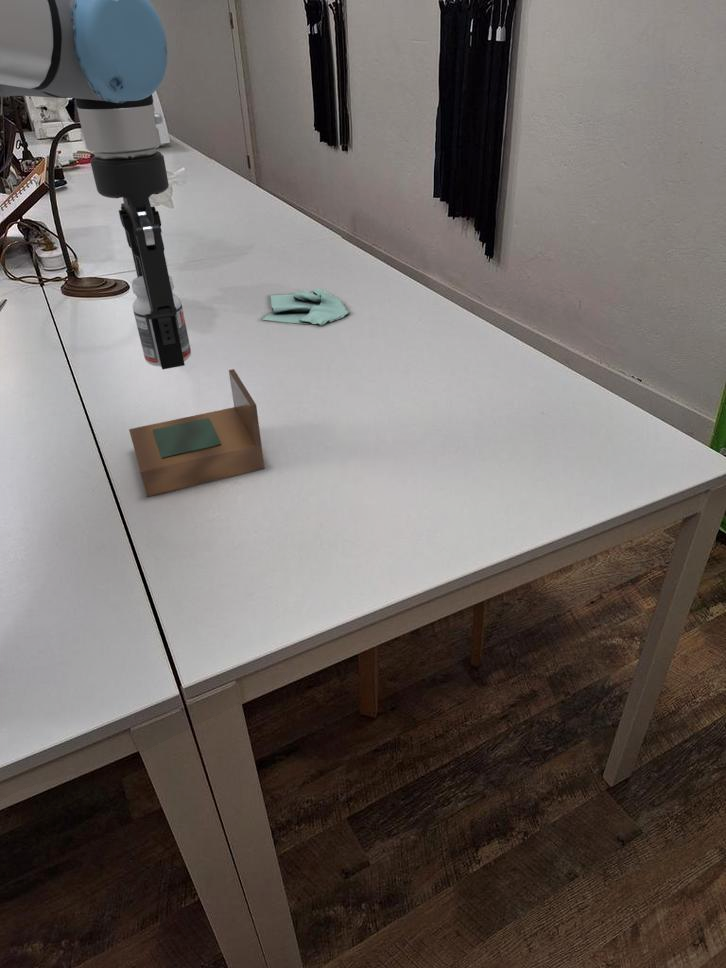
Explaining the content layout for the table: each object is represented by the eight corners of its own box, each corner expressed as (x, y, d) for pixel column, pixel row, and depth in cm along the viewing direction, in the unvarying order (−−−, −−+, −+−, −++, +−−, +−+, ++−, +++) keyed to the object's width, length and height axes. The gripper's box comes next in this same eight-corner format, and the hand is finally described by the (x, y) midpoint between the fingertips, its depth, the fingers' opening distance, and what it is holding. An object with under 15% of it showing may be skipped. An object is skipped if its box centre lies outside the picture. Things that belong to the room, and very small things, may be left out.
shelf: (146, 497, 85) (129, 431, 80) (135, 452, 95) (118, 390, 89) (264, 468, 90) (256, 404, 85) (242, 429, 99) (233, 368, 94)
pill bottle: (195, 348, 84) (181, 271, 79) (187, 367, 80) (171, 287, 74) (151, 349, 84) (134, 273, 79) (140, 368, 80) (120, 288, 74)
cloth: (328, 330, 131) (327, 319, 130) (237, 315, 139) (235, 304, 137) (370, 298, 146) (370, 288, 145) (286, 286, 154) (285, 276, 152)
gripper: (177, 162, 63) (214, 380, 76) (149, 138, 77) (185, 326, 90) (96, 169, 60) (149, 393, 74) (82, 143, 75) (129, 335, 88)
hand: (168, 356), depth 82 cm, fingers closed on pill bottle, 6 cm apart
